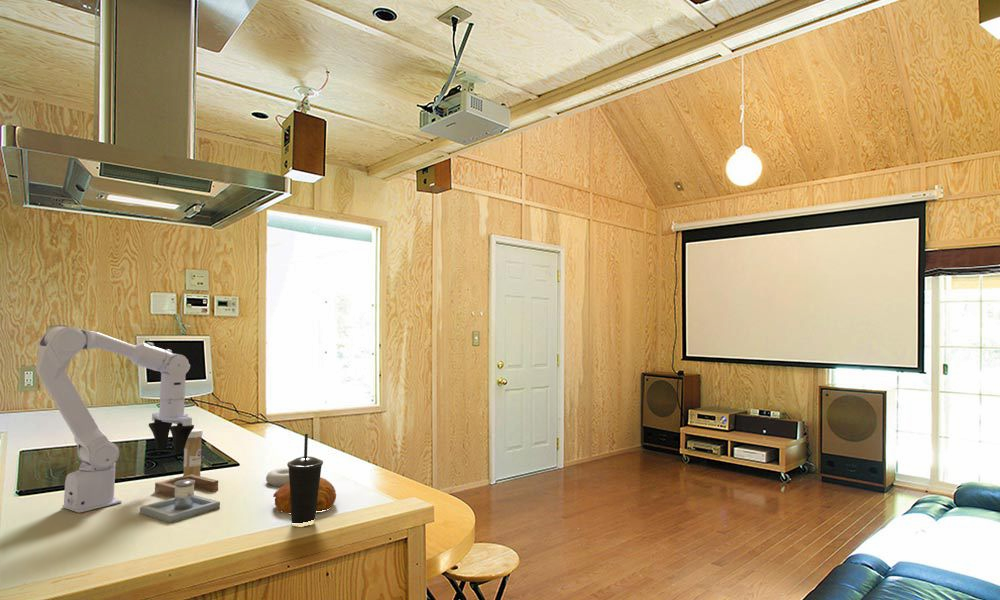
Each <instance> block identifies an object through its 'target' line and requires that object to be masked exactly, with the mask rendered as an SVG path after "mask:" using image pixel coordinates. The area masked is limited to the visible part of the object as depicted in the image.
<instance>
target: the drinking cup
mask: <svg viewBox="0 0 1000 600" xmlns="http://www.w3.org/2000/svg"><path fill="white" fill-rule="evenodd" d="M308 439H309V434H308V433H305V434H304V445H303V447H304V449H303V450H304V451H303V456H299V457H296V458H294V459H292V460H290V461H288V462H287V463H286V465H287V468H289V483H290V501H291V515H290V519H291V524H292V523H303V522H308V521H311V520H314V519H315V520H316V514H317V513H316V506H317V498H318V490H319V482H320V477H321V474H322V466H323V464H324V461H323V460H322V459H319V458H317V457H314V456H308V448H309V447H308V445H309V444H308V443H309V441H308Z"/></svg>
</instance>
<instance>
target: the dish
mask: <svg viewBox="0 0 1000 600" xmlns="http://www.w3.org/2000/svg"><path fill="white" fill-rule="evenodd" d="M174 499H175V498H173V497H170V498H168V499H164V500H161V501H157V502H153V503H150V504H146V505H141V506H139V514H142V515H144V516H147V517H150V518H155V519H157V520H161V521H162V522H163V521H164V522H166V523H170V524H171V523H174V522H178V521H183V520H185V519H189V518H192V517H194V515H195V516H198V515H197V514H199V515H201V513H202V514H205V513H209V512H211V510H212V511H214V509H215V510H218V509H220V507H221V502H220V501H219V500H216V499H215V500H214V499H211V498H208V497H203V496H199V495H195V494H194V500H193V507H192V508H190V509H187V510H175V509H174ZM217 508H218V509H217ZM208 511H209V512H208ZM188 517H189V518H188Z"/></svg>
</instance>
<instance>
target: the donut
mask: <svg viewBox="0 0 1000 600" xmlns="http://www.w3.org/2000/svg"><path fill="white" fill-rule="evenodd" d="M265 481H266V483H267V484H268V485H269V486H270V485H271V486H272V487H282V486H283V485H284V484H286V483H289V467H279V468H276V469H273V470H271V471H269V472H268V473H267V474H266V477H265Z"/></svg>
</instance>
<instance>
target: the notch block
mask: <svg viewBox="0 0 1000 600" xmlns="http://www.w3.org/2000/svg"><path fill="white" fill-rule="evenodd" d="M185 479H192V480H195V483H194V488H198V489H202V490H205V491H209V492H216V491H219V480H217V479H213V478H209V477H205V476H201V475H200V476H197V475H193V474H191V475H187V476H183V475H181V476H180V477H173V478H171V479H166V480H162V481H158V482H154V493H155V494H159V495H162V496H166V497H170V498H175V485H174V483H175V482H176V481H179V480H185Z"/></svg>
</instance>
